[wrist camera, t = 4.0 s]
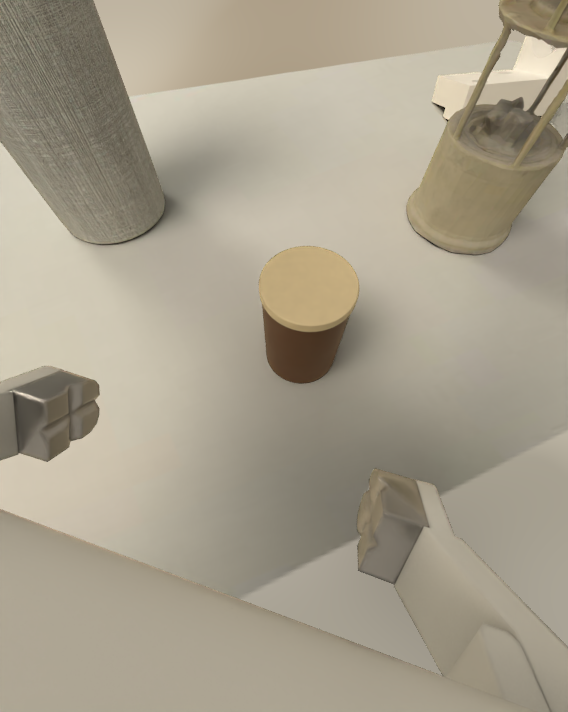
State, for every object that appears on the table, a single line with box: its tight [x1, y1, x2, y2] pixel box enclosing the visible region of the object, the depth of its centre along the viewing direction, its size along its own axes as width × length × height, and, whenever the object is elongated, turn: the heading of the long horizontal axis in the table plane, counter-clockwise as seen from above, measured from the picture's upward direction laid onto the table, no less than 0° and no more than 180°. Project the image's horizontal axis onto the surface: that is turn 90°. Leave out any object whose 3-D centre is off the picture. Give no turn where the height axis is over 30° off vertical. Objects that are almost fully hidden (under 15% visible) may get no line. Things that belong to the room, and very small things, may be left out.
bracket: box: [432, 35, 568, 120], centre depth 38 cm, size 13×7×8 cm, turn 101°
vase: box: [0, 0, 165, 244], centre depth 20 cm, size 10×10×27 cm
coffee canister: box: [259, 246, 359, 383], centre depth 21 cm, size 6×6×8 cm
